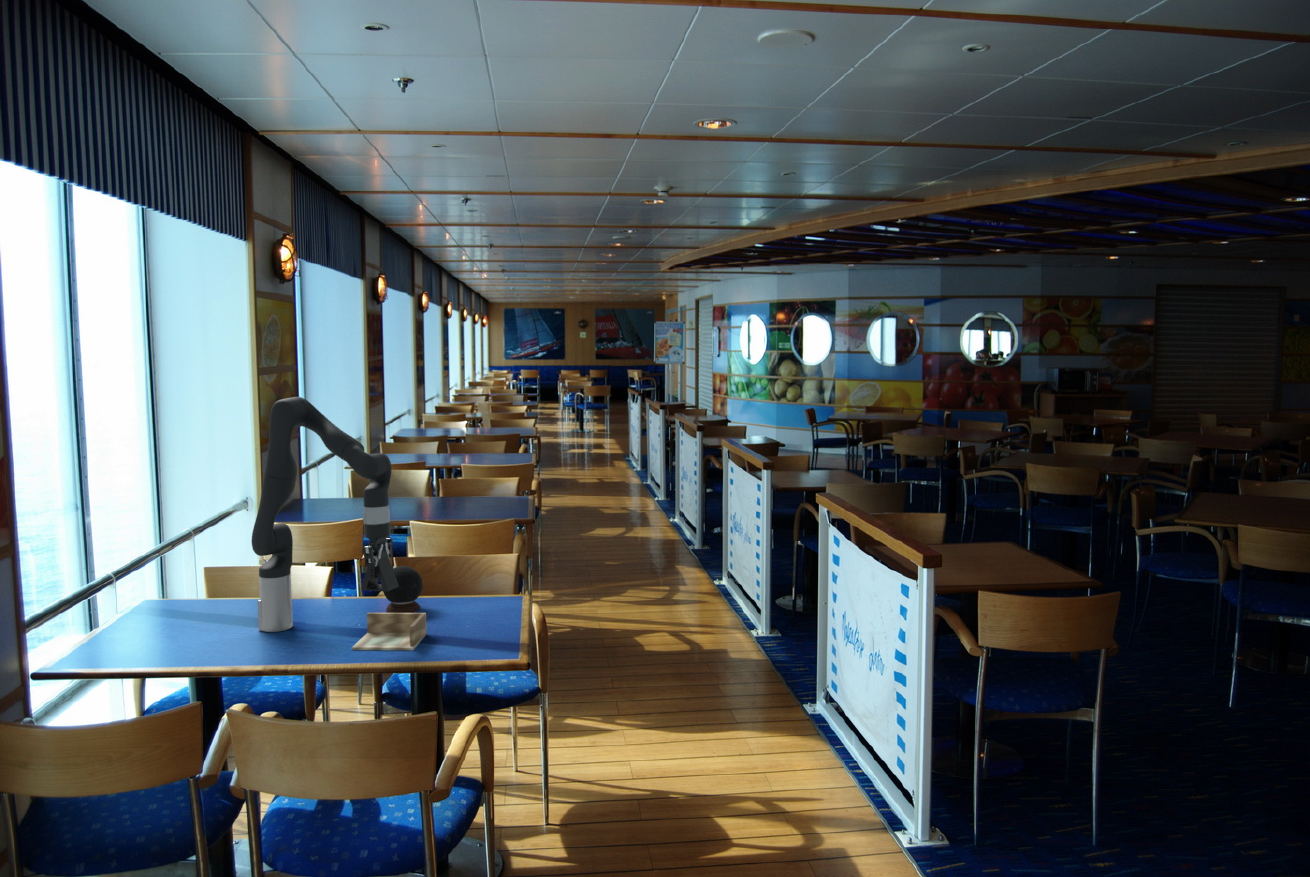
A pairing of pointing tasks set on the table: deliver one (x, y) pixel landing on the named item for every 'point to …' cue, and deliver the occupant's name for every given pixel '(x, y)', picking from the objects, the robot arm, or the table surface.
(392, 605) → the stone ball on stand
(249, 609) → the table surface
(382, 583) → the phone stand
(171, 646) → the table surface
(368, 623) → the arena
